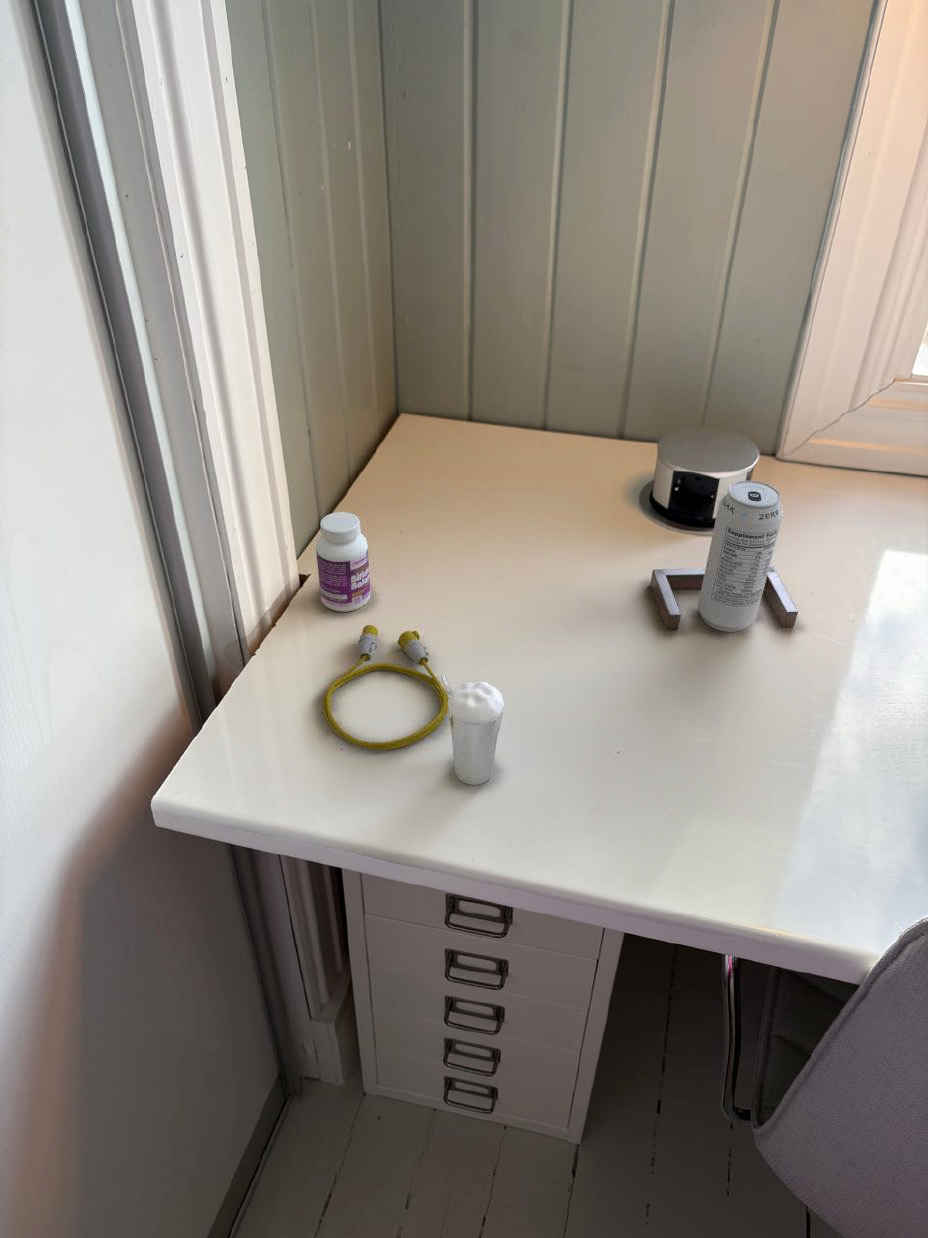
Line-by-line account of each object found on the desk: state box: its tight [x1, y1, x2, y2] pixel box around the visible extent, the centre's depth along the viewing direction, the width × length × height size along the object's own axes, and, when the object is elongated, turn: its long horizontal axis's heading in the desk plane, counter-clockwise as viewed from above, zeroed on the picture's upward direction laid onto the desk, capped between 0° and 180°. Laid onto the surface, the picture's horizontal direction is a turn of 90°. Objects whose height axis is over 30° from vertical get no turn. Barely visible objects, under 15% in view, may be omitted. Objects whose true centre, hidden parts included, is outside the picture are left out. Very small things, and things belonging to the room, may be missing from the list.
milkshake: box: [440, 672, 505, 786], centre depth 77 cm, size 4×5×10 cm
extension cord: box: [322, 624, 449, 751], centre depth 87 cm, size 12×16×2 cm
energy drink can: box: [697, 480, 784, 633], centre depth 93 cm, size 6×6×15 cm
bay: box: [649, 566, 799, 631], centre depth 99 cm, size 8×13×2 cm, turn 93°
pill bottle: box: [315, 511, 371, 613], centre depth 97 cm, size 5×5×10 cm
